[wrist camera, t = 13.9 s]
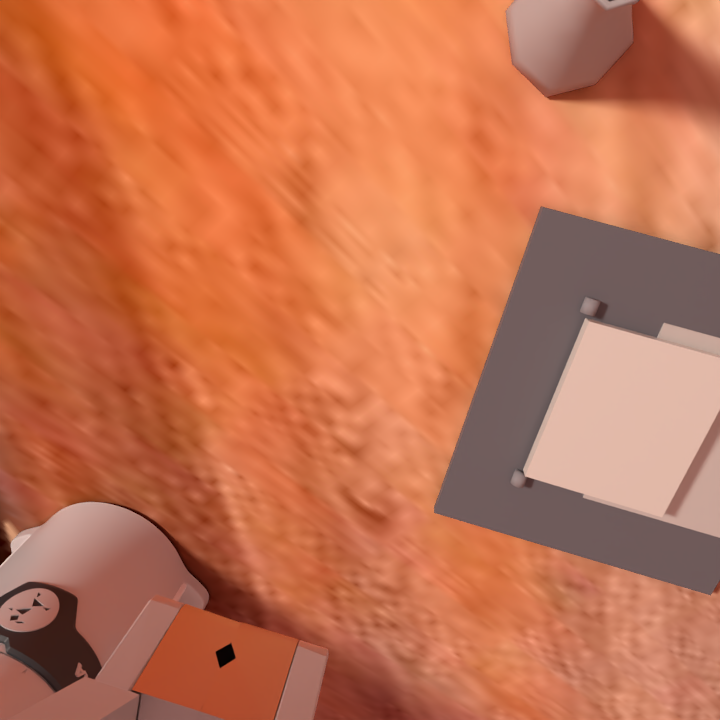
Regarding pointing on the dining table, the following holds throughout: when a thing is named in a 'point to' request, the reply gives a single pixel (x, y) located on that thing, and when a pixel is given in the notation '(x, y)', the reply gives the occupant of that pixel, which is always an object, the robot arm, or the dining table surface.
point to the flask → (568, 40)
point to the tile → (626, 417)
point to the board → (541, 377)
